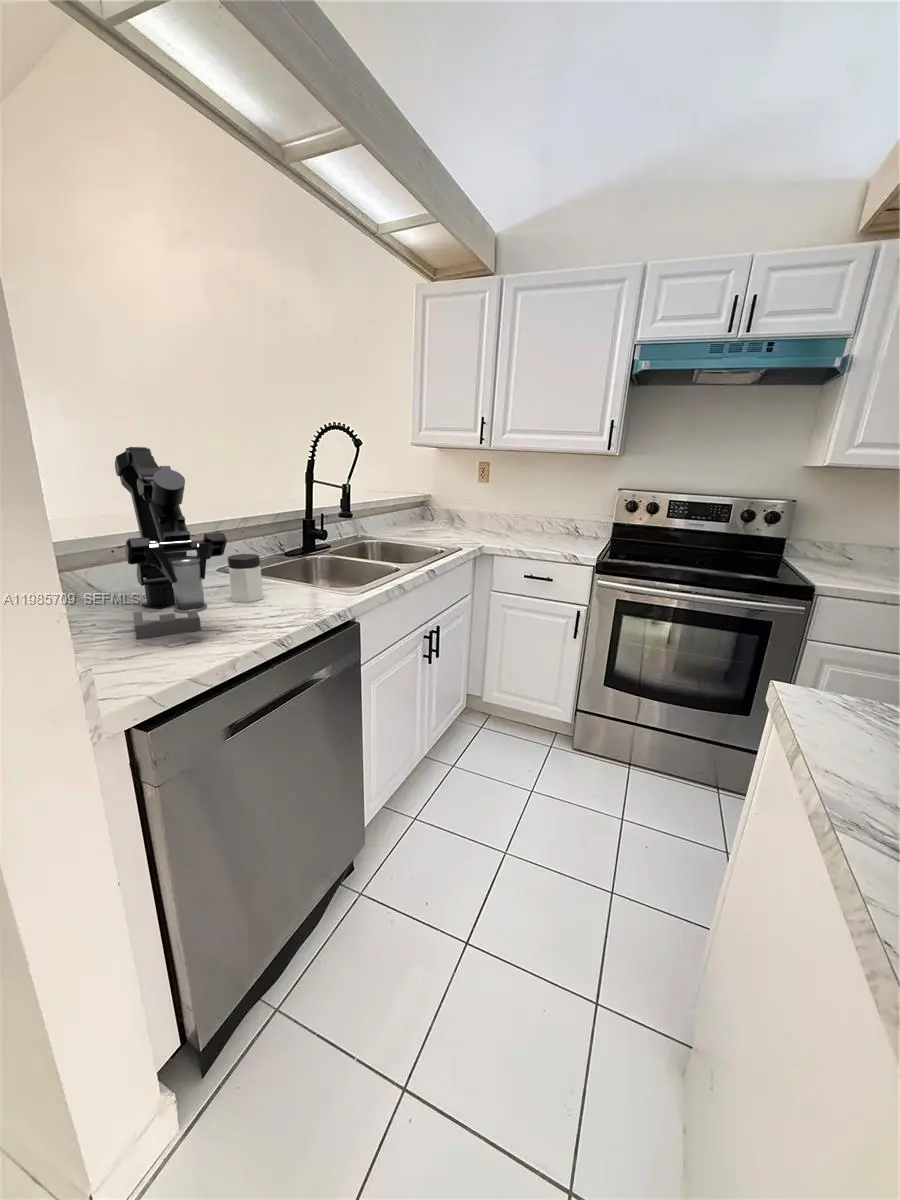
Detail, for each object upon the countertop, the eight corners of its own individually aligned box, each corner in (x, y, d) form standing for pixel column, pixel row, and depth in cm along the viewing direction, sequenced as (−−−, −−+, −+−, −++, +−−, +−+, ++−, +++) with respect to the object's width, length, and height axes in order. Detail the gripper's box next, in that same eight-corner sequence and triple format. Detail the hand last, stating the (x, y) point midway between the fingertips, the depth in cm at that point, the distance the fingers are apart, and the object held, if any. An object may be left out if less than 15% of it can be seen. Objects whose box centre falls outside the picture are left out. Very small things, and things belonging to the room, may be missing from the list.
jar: (264, 601, 137) (261, 558, 133) (232, 604, 133) (228, 560, 130) (261, 593, 144) (257, 552, 141) (231, 596, 141) (226, 554, 138)
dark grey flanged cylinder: (166, 611, 104) (159, 559, 101) (191, 603, 110) (185, 554, 107) (189, 615, 102) (183, 562, 99) (214, 606, 108) (208, 557, 105)
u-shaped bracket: (135, 624, 116) (132, 606, 115) (195, 616, 122) (193, 599, 121) (136, 639, 107) (133, 620, 106) (201, 629, 114) (198, 611, 112)
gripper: (209, 539, 120) (229, 593, 115) (118, 546, 108) (135, 607, 103) (216, 509, 112) (237, 566, 107) (119, 514, 100) (137, 578, 95)
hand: (188, 580), depth 103 cm, fingers closed on dark grey flanged cylinder, 5 cm apart
